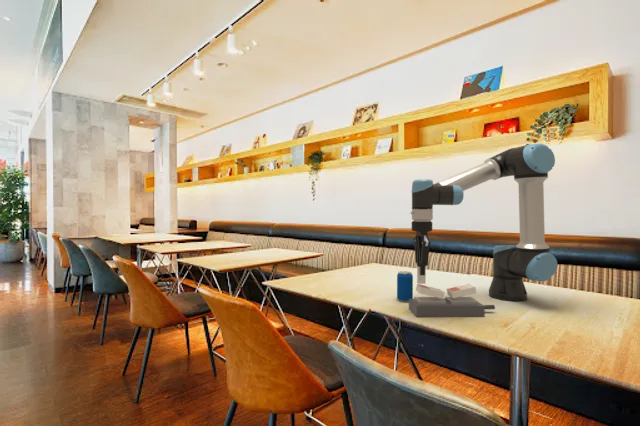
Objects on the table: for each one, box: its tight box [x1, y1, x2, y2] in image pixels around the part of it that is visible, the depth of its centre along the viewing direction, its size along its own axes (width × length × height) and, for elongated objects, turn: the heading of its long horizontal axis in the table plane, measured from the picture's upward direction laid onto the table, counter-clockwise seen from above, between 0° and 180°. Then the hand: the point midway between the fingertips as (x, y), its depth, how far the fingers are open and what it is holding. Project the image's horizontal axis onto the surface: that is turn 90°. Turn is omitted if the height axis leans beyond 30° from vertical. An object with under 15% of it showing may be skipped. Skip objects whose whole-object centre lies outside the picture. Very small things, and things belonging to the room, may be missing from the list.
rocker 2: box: [446, 283, 477, 298], centre depth 133 cm, size 9×5×2 cm, turn 91°
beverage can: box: [396, 270, 414, 303], centre depth 150 cm, size 6×6×12 cm
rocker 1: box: [415, 283, 445, 299], centre depth 133 cm, size 9×5×2 cm, turn 91°
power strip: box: [408, 296, 496, 318], centre depth 134 cm, size 31×10×5 cm, turn 91°
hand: (421, 283), depth 133 cm, fingers closed
